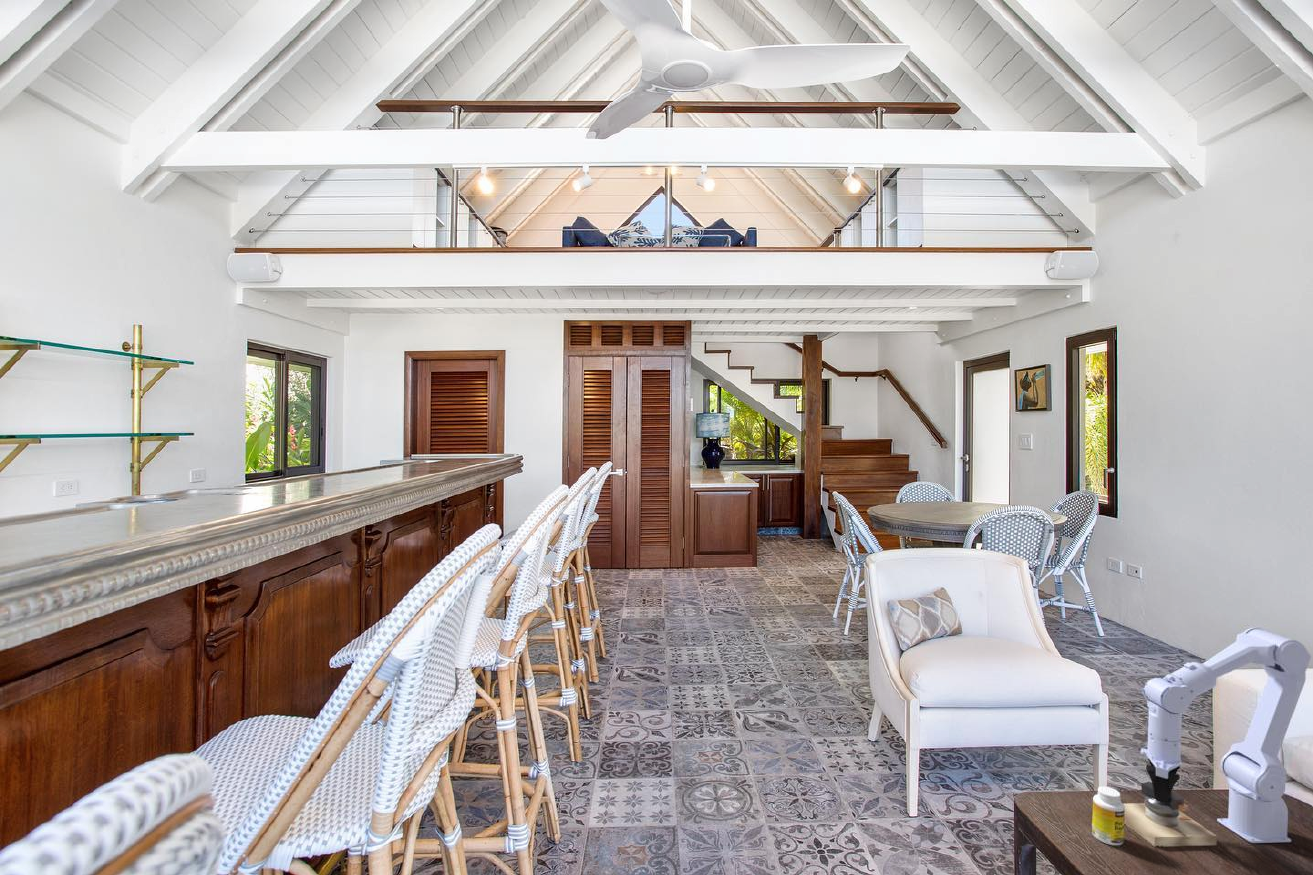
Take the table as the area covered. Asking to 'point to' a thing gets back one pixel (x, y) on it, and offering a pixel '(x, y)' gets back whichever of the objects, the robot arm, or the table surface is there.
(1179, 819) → the cream base plate
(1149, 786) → the rotary knob
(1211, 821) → the table surface
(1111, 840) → the supplement bottle
